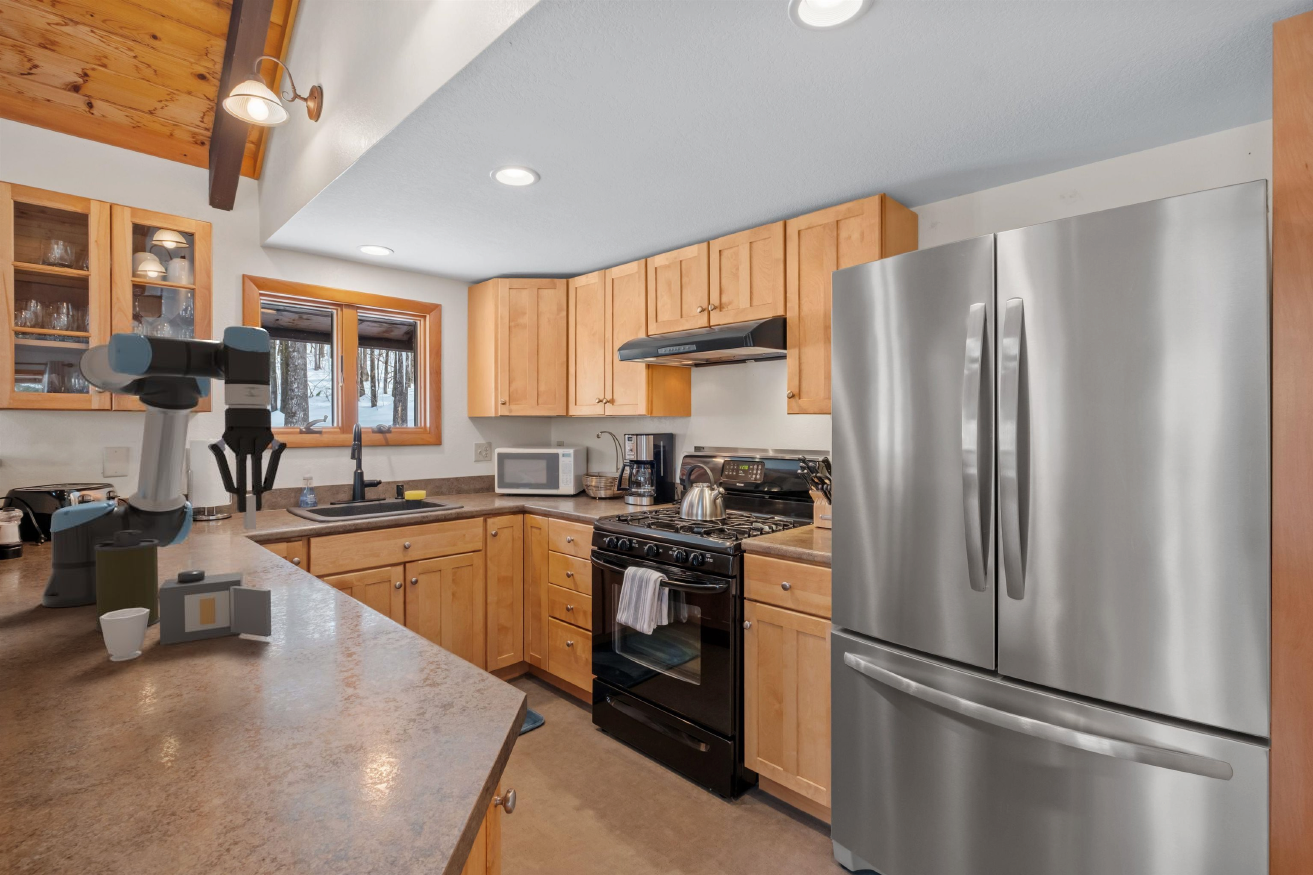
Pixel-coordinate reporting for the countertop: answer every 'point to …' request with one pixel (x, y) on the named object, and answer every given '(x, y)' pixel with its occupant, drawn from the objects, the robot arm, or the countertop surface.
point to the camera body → (196, 606)
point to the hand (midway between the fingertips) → (249, 528)
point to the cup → (124, 632)
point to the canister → (127, 575)
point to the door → (250, 610)
